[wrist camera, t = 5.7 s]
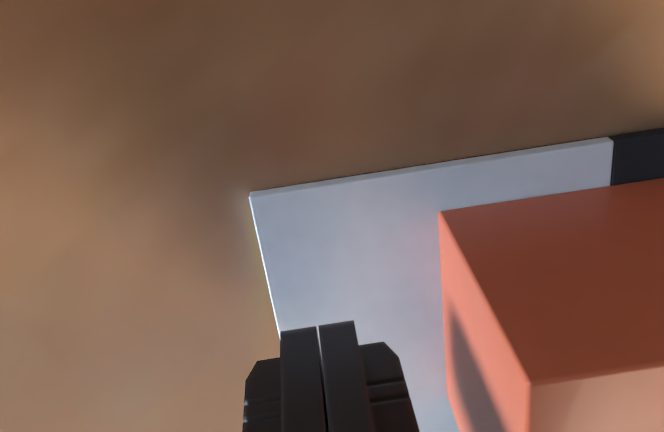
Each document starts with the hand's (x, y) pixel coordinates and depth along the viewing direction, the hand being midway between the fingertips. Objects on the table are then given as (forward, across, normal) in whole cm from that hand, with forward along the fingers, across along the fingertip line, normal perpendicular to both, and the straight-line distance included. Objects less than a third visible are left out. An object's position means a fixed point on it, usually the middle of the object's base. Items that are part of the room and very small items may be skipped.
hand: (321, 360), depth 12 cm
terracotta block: (+1, -5, 0) cm, 5 cm away
